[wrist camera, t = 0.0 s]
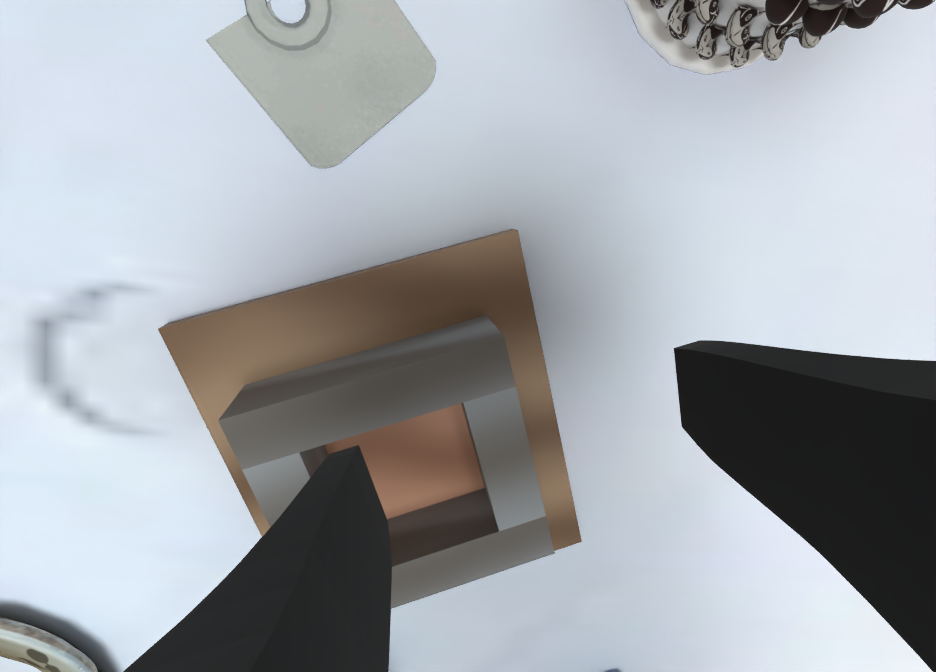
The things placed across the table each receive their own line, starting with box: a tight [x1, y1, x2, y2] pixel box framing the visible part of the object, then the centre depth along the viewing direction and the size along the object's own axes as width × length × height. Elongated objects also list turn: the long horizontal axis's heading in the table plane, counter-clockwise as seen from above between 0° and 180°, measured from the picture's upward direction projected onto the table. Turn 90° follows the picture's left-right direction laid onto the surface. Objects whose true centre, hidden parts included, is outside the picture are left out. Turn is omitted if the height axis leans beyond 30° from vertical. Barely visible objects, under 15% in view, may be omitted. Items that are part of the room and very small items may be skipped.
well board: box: [158, 229, 582, 608], centre depth 19 cm, size 16×14×4 cm
